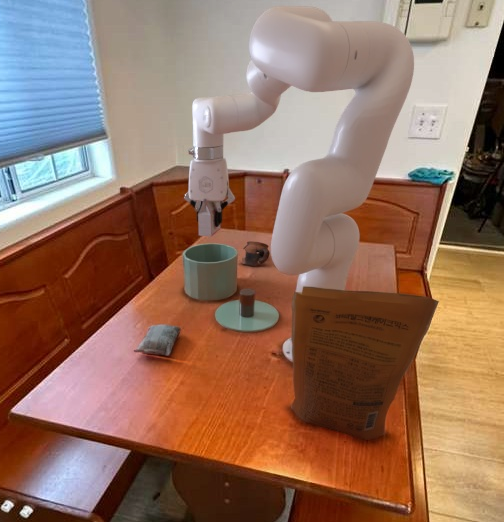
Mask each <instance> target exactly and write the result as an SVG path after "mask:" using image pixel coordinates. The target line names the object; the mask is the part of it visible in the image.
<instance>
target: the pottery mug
mask: <svg viewBox="0 0 504 522" xmlns="http://www.w3.org/2000/svg"><path fill="white" fill-rule="evenodd" d="M242 249H243V250H244V251H245V256H243V257H242V258H241V264H242V265H248V266H251V267H258V263H259V264H260V265H263V264H265V262H266V261H267V260H268V259H269V258H270V256H271V251H270V250H269V245H268V244H266V243H264V242H261V241H250V240H249V241H247V242H246V245H245V246H243V248H242Z"/></svg>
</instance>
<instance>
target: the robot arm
mask: <svg viewBox="0 0 504 522" xmlns="http://www.w3.org/2000/svg"><path fill="white" fill-rule="evenodd" d="M248 52H249V57H250V61H249V62H248V65H247V67H246V74H245V75H246V82H247V85H248V88H249V90H250V92H248V93H240V94H230V95H220V96H219V95H218V96H203V97H196V98H195V99H194V100H193V101H192V106H191V111H192V140H193V141H192V142H193V146H192V148H189V149H188V150H187V151H188V155H191V156H192V159H191V160H190V164H189V171H188V172H189V173H188V190H187V191H186V193H185V194H184V196H183V199H184V200H185V201H186V202H187V203H189V204H190V205H191V206H192V207H193V209H194V211H195V212H196V222H197V223H198V213H199V211H200V209H201V206H202V204H203V200H204V198H206V201H215V203H216V208H217V210H216V212H215V226H216V227H218V226H219V225H220V226H221V224H222V223H223V210H224V209H225V208H226V207H228V205H229V204H232V203H233V202H234V201H235V200H236V197H235V195H234V194H233V192H232V190H231V188H230V184H229V183H230V182H229V170H228V164H227V163H228V162H227V159H226V157H224V134H231V133H238V132H239V133H240V132H247V131H250V130H254V129H255V128H257V127H259V126H260V125H262V124H263V123H264V122H266V121H267V120H268V119H269V118H271V117H272V116H273V115H274V114H275V112H276V111H277V109H278V107H279V104H280V101H281V97H282V94H283V93H285V92H286V91H287V90H289V89H290V88H291V87H294V88H296V89H298V90H300V91H304V92H309V93H326V92H334V91H335V92H336V91H346V90H353V91H354V94H353V95H354V96H353V97H352V98H351V100H350V102H348V104H347V106H345V109H344V111H343V112H342V113H341V115H340V116H339V119H338V121H337V123H336V125H335V128H334V133H333V136H332V139H331V143H330V146H329V148H328V151H327V153H326V155H325V156H324V157H322V158H316V159H312V160H311V159H310V160H308V161H305V162H303V163H300V164H299V165H298V166H296V167H295V168H294V169H293V170H291V172H290V173H289V174H288V176H287V178H286V180H285V181H284V184H283V186H282V190H281V194H280V198H279V203H278V207H277V212H276V216H275V221H274V225H273V230H272V235H271V241H270V256H271V260H272V263H273V265H274V266H275V268H276V269H277V270H278V271H279V272H280V273H281V274H284V275H286V276H287V275H288V276H298V277H297V280H296V289H295V291H296V292H301V293H302V290H303V286H306V287H317V288H325V289H336V290H345V291H346V285H347V281H348V278H349V273H350V270H351V267H352V264H353V262H354V260H355V257H356V255H357V253H358V249H359V244H360V239H361V236H360V229H359V226H358V224H357V222H356V221H355V219H354V218H352V217H351V216H350V215H348V214H345V213H347V212H351V211H352V210H356V209H357V208H359V207H360V206H362V205H363V204H364V203H365V201H366V200H367V199H368V197H369V195H370V192H371V191H372V187H373V185H374V183H375V180H376V177H377V174H378V171H379V169H380V166H381V163H382V160H383V158H384V155H385V152H386V150H387V147H388V143H389V140H390V138H391V135H392V132H393V130H394V128H395V124H396V123H397V120H398V118H399V115H400V113H401V111H402V108H403V107H404V104H405V102H406V100H407V98H408V95H409V91H410V89H411V86H412V82H413V79H414V78H413V77H414V72H415V56H414V50H413V48H412V44H411V42H410V41H409V38H408V37H407V35H406V34H405V33H404V32H403V31H402V30H401V29H399V28H398V27H396V26H394V25H392V24H389V23H386V22H382V21H373V20H351V21H349V20H348V21H343V20H342V21H339V20H338V21H333V19H332V18H331V16H330V14H329V13H327V11H325V10H323V9H321V8H319V7H317V6H316V7H315V6H302V5H301V6H300V5H298V6H297V5H292V6H291V5H276V6H272V7H270V8H268V9H266V10H265V11H264V12H262V13H261V14H260V15H259V16H258V18H257V19H256V20H255V22H254V25H253V27H252V29H251V31H250V35H249V40H248ZM226 198H227V199H226ZM282 354H283V355H284V357H285V358H286V359H287V360H288V361H290V362H291V363H293V359H292V340H291V337H289V338H288V339H286V340H285V341H284V342H283V344H282Z"/></svg>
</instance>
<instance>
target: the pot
mask: <svg viewBox="0 0 504 522" xmlns="http://www.w3.org/2000/svg"><path fill="white" fill-rule="evenodd" d="M238 255H239V251H238V249H236V247H234V246H231V245H229V244H224V243H217V242H211V243H199V244H195V245H192V246H189V247H188V248H186V249H185V250H184V251H183V253H182V269H183V286H184V288H183V289H184V292H185V294H186V295H187V296H189V298H193V299H196V300H199V301H219V300H224V299H228V298H230V297H231V296H234V294H235V293H236V292H237V290H238V264H239V263H238V259H239V258H238V257H239V256H238Z"/></svg>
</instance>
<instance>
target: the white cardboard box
mask: <svg viewBox="0 0 504 522" xmlns="http://www.w3.org/2000/svg"><path fill="white" fill-rule="evenodd" d="M216 210H217V208H216V203H215V201H206V198H204V200H203V204H202V206H201V209H200V211H199V213H198V222H197V223H198V236H200V237H208V238H211V237H213V236H214V235H215V234H217V233H218V232H219V231H220V230H221V224H220V225H219V226H218V227H216V226H215V212H216Z"/></svg>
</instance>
